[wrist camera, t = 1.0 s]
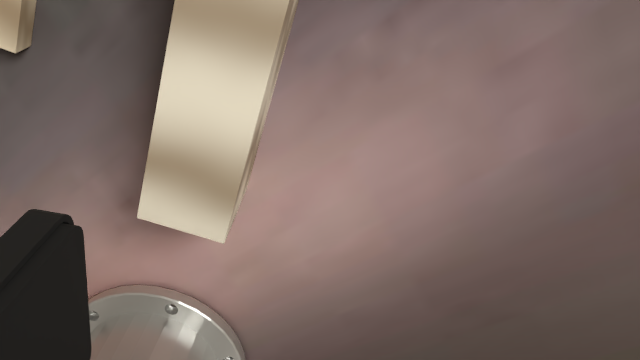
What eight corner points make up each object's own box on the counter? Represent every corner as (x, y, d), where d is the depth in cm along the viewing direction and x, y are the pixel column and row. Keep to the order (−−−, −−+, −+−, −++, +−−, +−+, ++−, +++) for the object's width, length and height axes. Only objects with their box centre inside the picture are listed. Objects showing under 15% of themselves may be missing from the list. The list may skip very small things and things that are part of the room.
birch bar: (247, 187, 35) (224, 243, 29) (173, 164, 34) (136, 217, 29) (368, -252, 24) (366, -287, 19) (264, -289, 24) (233, -335, 19)
